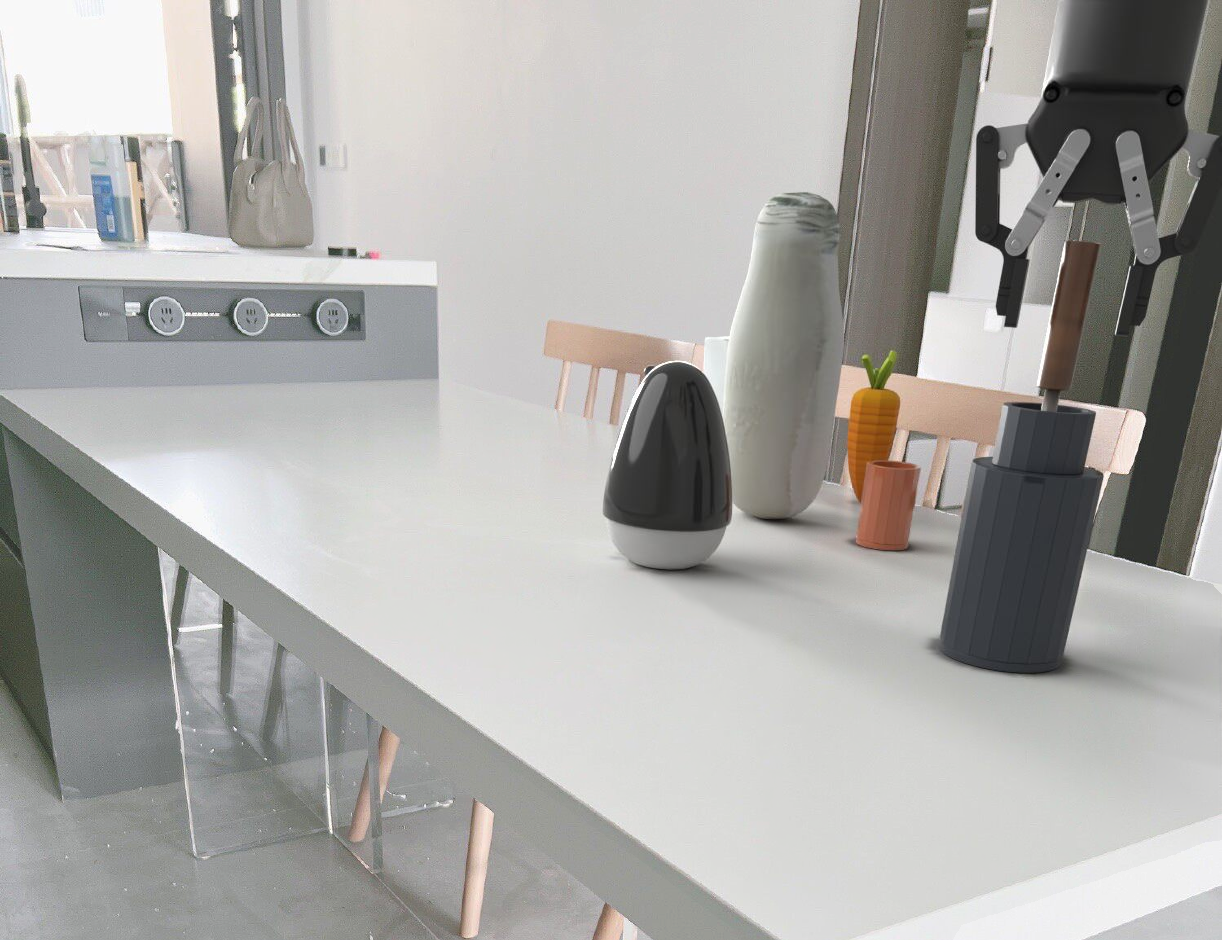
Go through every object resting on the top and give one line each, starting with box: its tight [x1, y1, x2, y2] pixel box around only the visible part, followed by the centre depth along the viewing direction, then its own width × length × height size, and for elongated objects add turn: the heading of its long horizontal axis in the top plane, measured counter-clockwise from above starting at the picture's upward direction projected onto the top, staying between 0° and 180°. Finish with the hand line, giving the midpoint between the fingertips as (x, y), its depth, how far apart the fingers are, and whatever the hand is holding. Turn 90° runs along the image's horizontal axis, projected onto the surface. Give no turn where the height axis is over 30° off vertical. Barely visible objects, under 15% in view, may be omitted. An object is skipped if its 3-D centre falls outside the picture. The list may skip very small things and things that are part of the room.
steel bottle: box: [938, 401, 1105, 674], centre depth 77 cm, size 8×8×16 cm
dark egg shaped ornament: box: [602, 360, 733, 570], centre depth 95 cm, size 10×10×15 cm
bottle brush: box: [1035, 240, 1102, 412], centre depth 75 cm, size 3×3×24 cm
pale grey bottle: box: [723, 191, 845, 520], centre depth 112 cm, size 10×10×28 cm
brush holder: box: [855, 459, 922, 551], centre depth 108 cm, size 5×5×7 cm
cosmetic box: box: [702, 335, 730, 417], centre depth 135 cm, size 8×6×15 cm
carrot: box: [847, 350, 901, 504], centre depth 125 cm, size 5×5×15 cm
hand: (1065, 329), depth 72 cm, fingers open, 5 cm apart
